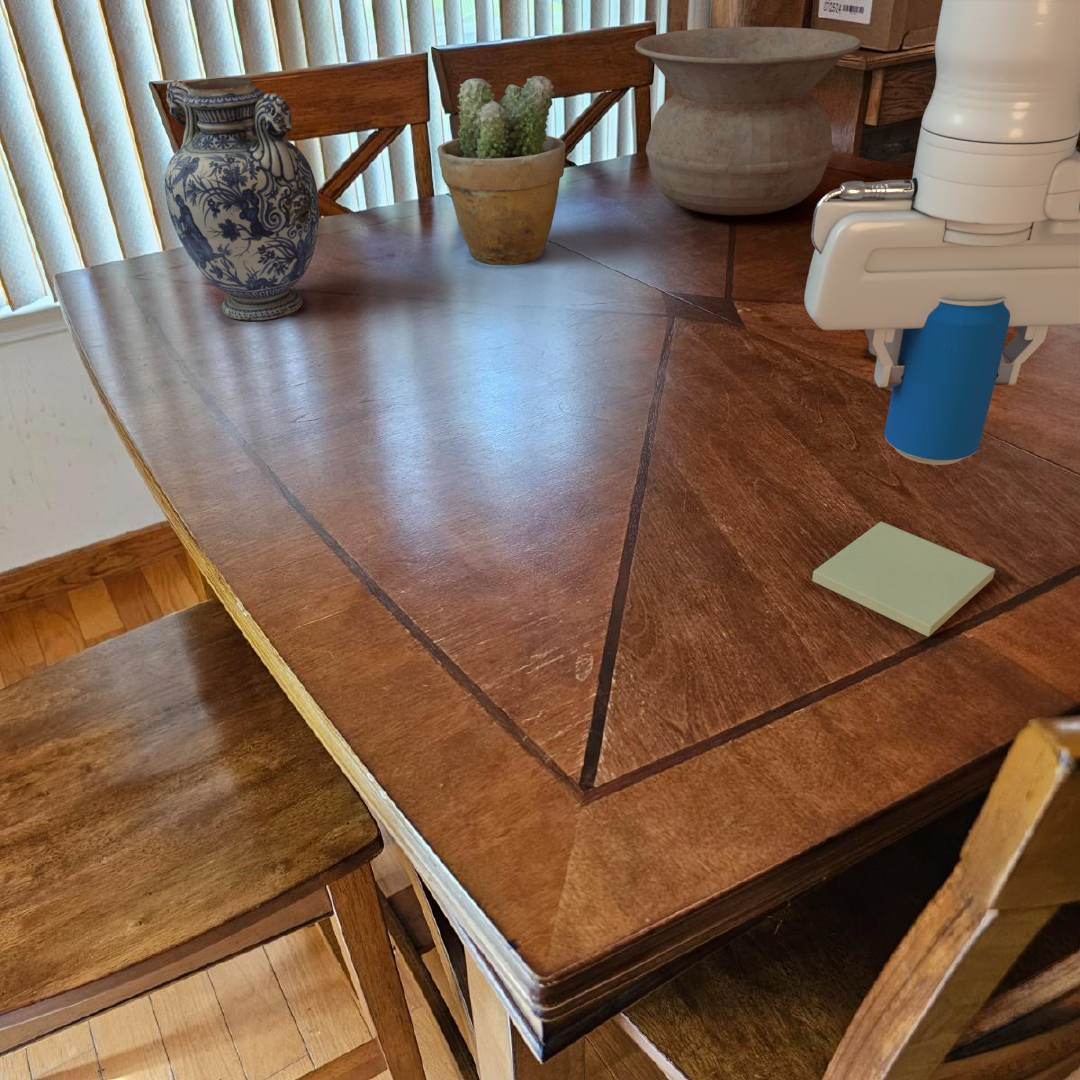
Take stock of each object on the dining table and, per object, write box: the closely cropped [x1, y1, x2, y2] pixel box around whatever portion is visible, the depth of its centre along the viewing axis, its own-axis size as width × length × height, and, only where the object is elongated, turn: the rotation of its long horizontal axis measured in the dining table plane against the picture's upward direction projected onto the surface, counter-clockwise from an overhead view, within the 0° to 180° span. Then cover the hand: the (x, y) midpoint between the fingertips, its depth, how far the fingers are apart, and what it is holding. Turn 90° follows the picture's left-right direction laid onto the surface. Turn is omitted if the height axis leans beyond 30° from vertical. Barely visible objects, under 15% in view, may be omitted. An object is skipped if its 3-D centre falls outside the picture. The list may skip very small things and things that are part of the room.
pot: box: [634, 26, 862, 216], centre depth 158 cm, size 34×34×25 cm
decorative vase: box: [164, 77, 320, 322], centre depth 126 cm, size 21×19×28 cm
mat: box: [811, 521, 996, 638], centre depth 78 cm, size 10×10×1 cm
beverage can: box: [884, 297, 1010, 466], centre depth 68 cm, size 6×6×12 cm
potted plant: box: [436, 75, 567, 266], centre depth 142 cm, size 18×19×25 cm
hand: (943, 383), depth 69 cm, fingers closed on beverage can, 6 cm apart
